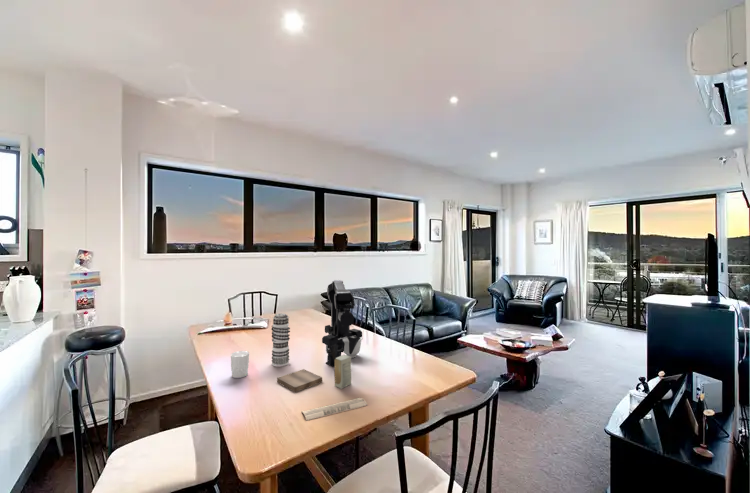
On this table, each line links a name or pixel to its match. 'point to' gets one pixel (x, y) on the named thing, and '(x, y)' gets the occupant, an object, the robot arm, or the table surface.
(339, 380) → the skincare box
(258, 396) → the table surface
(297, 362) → the table surface
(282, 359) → the decorative candle
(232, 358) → the white cup
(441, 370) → the table surface
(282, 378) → the walnut block
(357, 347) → the teacup
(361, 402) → the newspaper
